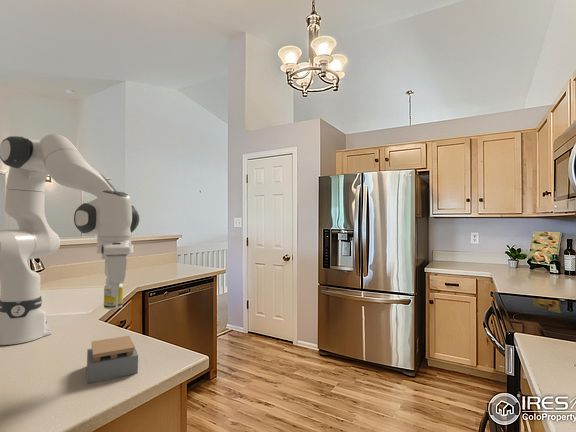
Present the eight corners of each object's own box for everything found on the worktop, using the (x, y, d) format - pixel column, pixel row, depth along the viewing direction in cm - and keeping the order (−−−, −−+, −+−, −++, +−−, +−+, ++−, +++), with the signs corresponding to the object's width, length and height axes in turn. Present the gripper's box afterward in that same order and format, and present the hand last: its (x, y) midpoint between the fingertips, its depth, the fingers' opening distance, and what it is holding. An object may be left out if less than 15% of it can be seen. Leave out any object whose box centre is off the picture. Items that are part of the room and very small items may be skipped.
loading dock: (86, 366, 95) (87, 341, 95) (131, 357, 102) (132, 334, 102) (87, 383, 85) (88, 356, 85) (137, 373, 92) (138, 347, 92)
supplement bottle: (118, 304, 97) (119, 276, 97) (125, 307, 94) (126, 278, 94) (100, 307, 93) (101, 278, 94) (107, 310, 90) (108, 280, 91)
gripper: (100, 244, 101) (99, 289, 101) (104, 249, 84) (102, 303, 84) (122, 244, 105) (121, 287, 104) (131, 248, 87) (130, 300, 87)
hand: (113, 294), depth 94 cm, fingers closed on supplement bottle, 5 cm apart
